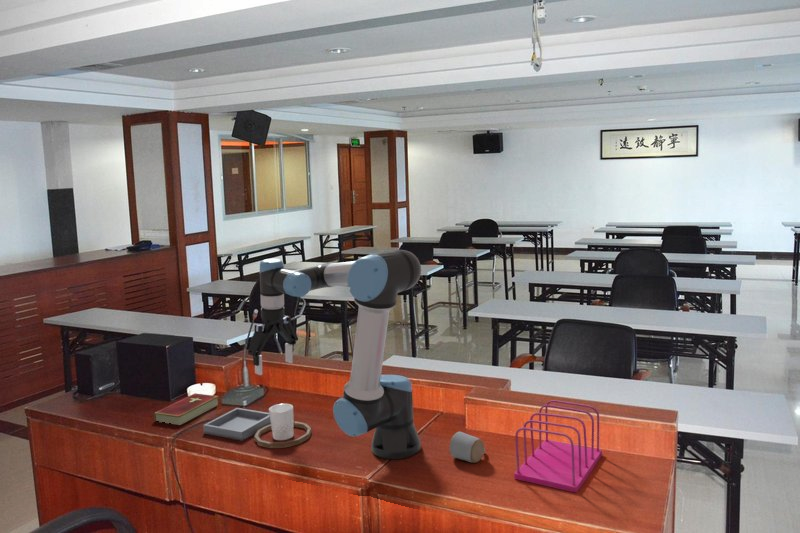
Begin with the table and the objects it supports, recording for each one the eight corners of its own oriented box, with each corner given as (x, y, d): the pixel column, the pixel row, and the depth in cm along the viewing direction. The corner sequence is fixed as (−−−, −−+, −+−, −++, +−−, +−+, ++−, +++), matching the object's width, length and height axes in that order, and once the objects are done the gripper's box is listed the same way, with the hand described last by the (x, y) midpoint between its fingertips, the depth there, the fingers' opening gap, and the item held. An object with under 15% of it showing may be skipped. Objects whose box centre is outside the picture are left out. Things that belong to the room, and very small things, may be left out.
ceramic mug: (472, 467, 189) (472, 442, 188) (449, 460, 194) (448, 435, 193) (492, 454, 197) (491, 430, 196) (469, 448, 202) (468, 424, 201)
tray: (274, 421, 232) (274, 413, 231) (242, 440, 217) (241, 432, 216) (237, 415, 239) (237, 407, 239) (203, 433, 225) (203, 425, 224)
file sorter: (513, 479, 181) (512, 425, 179) (545, 444, 202) (544, 395, 200) (576, 493, 172) (575, 436, 169) (602, 455, 193) (602, 404, 190)
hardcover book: (154, 423, 238) (153, 412, 237) (195, 402, 257) (193, 392, 256) (180, 426, 233) (179, 415, 232) (219, 405, 252) (218, 395, 251)
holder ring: (305, 446, 209) (305, 442, 209) (249, 449, 210) (249, 444, 210) (314, 424, 227) (314, 420, 227) (262, 426, 228) (262, 422, 228)
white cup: (270, 434, 221) (267, 405, 220) (293, 430, 223) (291, 401, 222) (272, 443, 214) (270, 413, 212) (297, 438, 216) (294, 409, 214)
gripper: (291, 296, 226) (293, 355, 231) (234, 312, 207) (237, 376, 211) (307, 300, 222) (308, 360, 227) (250, 317, 202) (253, 382, 207)
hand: (274, 368), depth 219 cm, fingers open, 13 cm apart
